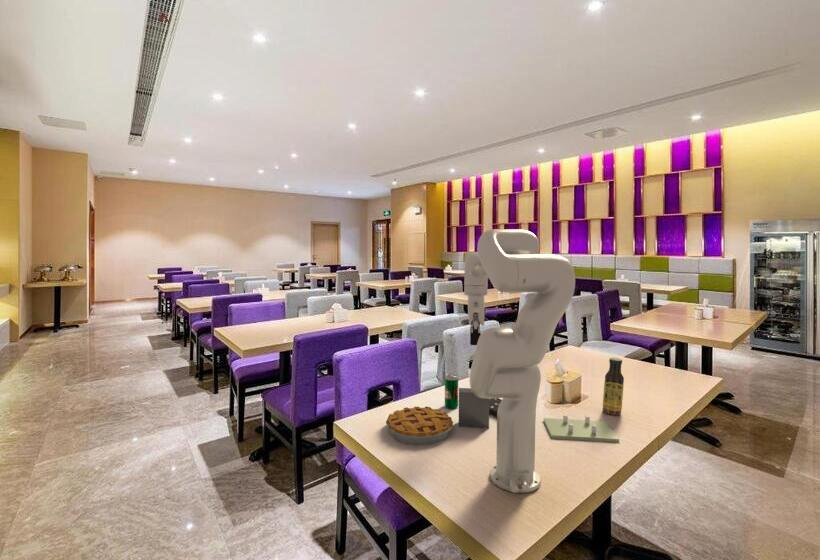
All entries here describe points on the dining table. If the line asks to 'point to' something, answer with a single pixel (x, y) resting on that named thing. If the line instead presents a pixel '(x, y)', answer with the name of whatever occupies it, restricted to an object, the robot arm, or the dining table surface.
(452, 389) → the soda can
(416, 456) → the dining table surface
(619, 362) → the sauce bottle
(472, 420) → the dark grey thick block
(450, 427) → the pie
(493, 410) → the disk drive
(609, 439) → the dock
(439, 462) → the dining table surface
